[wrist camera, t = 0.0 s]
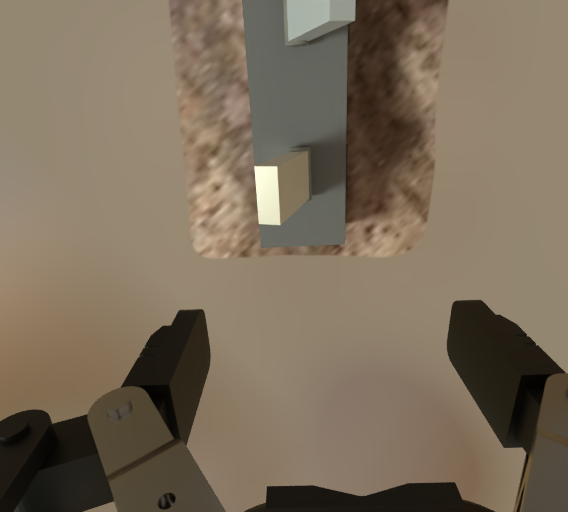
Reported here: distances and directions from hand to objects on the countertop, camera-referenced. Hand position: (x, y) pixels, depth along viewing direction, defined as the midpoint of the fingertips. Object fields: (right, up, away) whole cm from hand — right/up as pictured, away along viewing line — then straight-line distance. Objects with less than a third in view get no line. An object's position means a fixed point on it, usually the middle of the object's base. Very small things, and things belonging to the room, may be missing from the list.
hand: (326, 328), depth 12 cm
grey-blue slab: (-1, +20, +16) cm, 26 cm away
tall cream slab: (0, +9, +20) cm, 22 cm away
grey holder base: (0, +18, +24) cm, 30 cm away
